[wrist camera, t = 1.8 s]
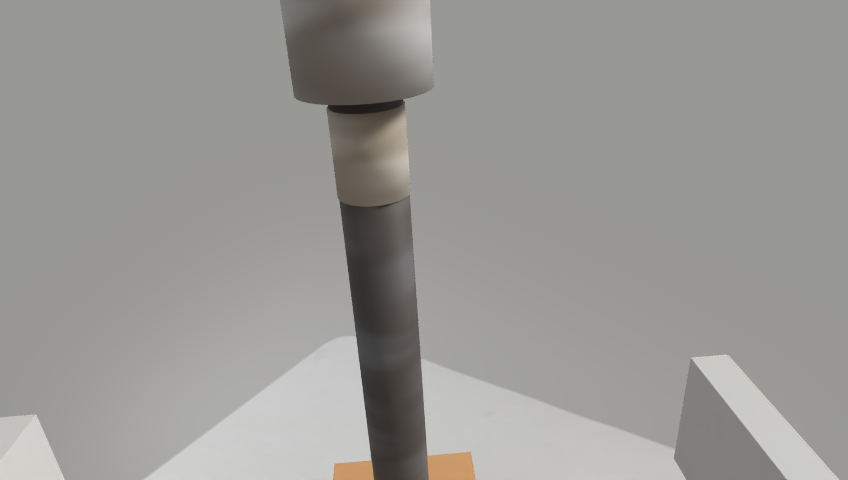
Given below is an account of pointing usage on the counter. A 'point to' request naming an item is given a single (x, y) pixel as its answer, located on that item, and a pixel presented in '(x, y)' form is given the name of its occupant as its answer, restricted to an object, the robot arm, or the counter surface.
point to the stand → (373, 194)
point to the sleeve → (445, 471)
